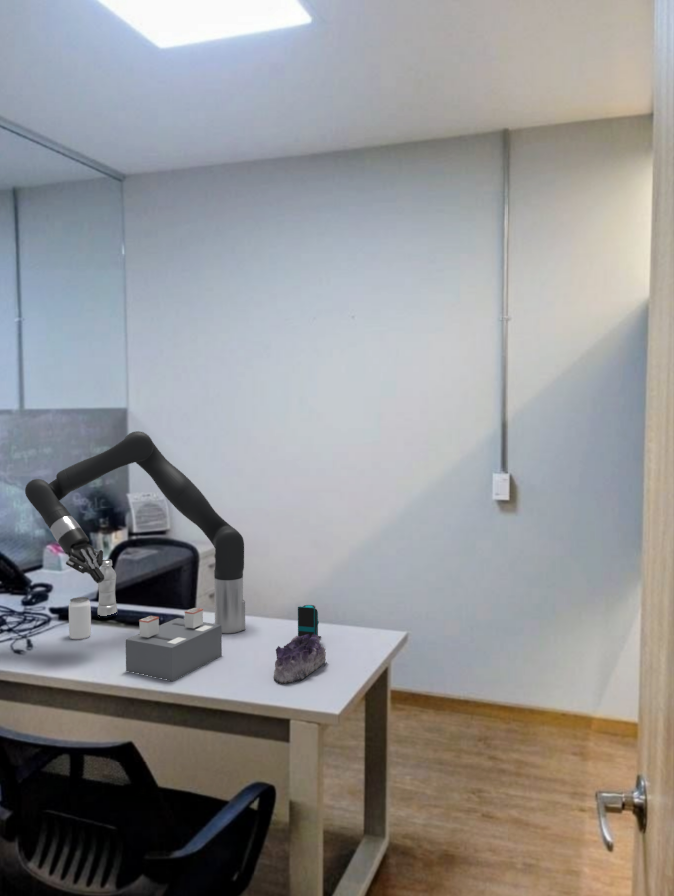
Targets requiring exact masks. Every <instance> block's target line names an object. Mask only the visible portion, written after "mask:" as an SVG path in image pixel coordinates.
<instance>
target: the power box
mask: <svg viewBox="0 0 674 896" xmlns="http://www.w3.org/2000/svg"><path fill="white" fill-rule="evenodd" d="M222 635H223V633H221V625H218V624H215V623H211V622H205V621H203V624H202V625H200V626H198V627H196V628H188V627H185V618H180V617H177V618H174V619H171V620H169V621H167V622H164V623H162V624H159V633H158V634H156V635H153V636H151V637H148V638H147V637H142V636H140V633H137V634H134V635H132V636H130V637H127V638H125V672H126V671H129V672H128V673H130V672H134V673H133V674H135V673H139V674H138V675H140V674H144V675H148V676H147V677H149V676H152V677H151V678H154V677H156V678H155V679H159V678H162V679H161V680H163V679H167V680H166V681H168V680H171V681H170V682H174V681H176V680H178V679H180V678H182V677H183V675H184V676H186V675H187V673H188V674H189V673H191V672H193V671H195V670H197V669H199V668H201V667H202V666H204V665H207V664H208V663H210V662H212V661H214V660H216V659H219V657H222V654H223V653H222V651H223V650H222V649H223V647H222V646H223V645H222V642H223V641H222V639H223V638H222ZM185 674H186V675H185ZM144 675H143V676H144ZM181 676H182V677H181ZM179 677H180V678H179ZM177 678H178V679H177ZM175 679H176V680H175ZM173 680H174V681H173Z"/></svg>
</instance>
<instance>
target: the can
mask: <svg viewBox="0 0 674 896" xmlns="http://www.w3.org/2000/svg"><path fill="white" fill-rule="evenodd" d="M69 601H70V602H69V604H68V633H69V634H68V636H69V639H71V640H76V641H77V640H86V639H87V638H88V639H89V638H90V637H91V636H92V635H91V634H92V612H91V610H92V609H91V602H90V598H89V597H86V596H78V597H73V598H71V599H70V600H69Z"/></svg>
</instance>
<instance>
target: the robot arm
mask: <svg viewBox="0 0 674 896" xmlns="http://www.w3.org/2000/svg"><path fill="white" fill-rule="evenodd" d="M135 463H136V464H137V465H138V466H139V467H140V468H142V469H143V470H144V472H146V473H147V474H148V476H149V477H150V478H151V479H152V481H153V482H154V483H155V485H156V486H157V488H158V489H159V490H160V492H161V493H162V495H163V496H164V497H165V498H166V499H167V500H168V501H169V503H170V504H171V505H172V506H173V507H174V508H175V509H176V510H178V511H179V513H180V514H182V515H183V516H184V517H185V518H187V519H188V520H189V522H192V523H193V524H194V525H196V526H197V527H198V528H199V529H200V530H201V531H202V533H204V535H205V536H206V537H207V538H208V540H209V541H210V543H211V544H212V545H213V546H212V547H214V552H215V555H214V557H215V559H214V560H215V561H214V562H215V563H214V565H215V567H214V571H213V577H214V578H213V580H214V584H213V585H214V624H218V625H221V633H222V634H235V633H239V632H241V631H245V630H246V601H245V600H244V570H245V540H244V537H243V536H242V534H241V533H240V532H239V531H238V530H237V529H236V528H235V527H233V526H231V524H229V523H228V522H227V521H226V520H224V519H223V518H222V517H221V516H220V515H219V514H218V513H217V512H216V510H215V509H214V507H212V505H211V503H210V502H209V501H208V499H207V497H206V496H205V495H204V494H203V493H202V491H201V490H200V489H199V488H198V487H197V486H196V485H195V484H194V483H193V482H192V481H191V479H189V478H188V477H187V476H186V474H184V473H183V471H180V469H178V468H177V467H176V466H175V465H173V464H172V463H171V462H170V461H169V460H167V458H166V457H165V456H164V454H163V453H162V452H161V451H160V450H159V449H158V447H157V446H156V444H155V443H154V441H153V440H152V438H151V437H150V435H148V434H147V433H146V432H144V431H139V430H138V431H136V430H135V431H132V432H130V433H128V434H127V435H126V436H125V437H124V439H123V440H121V441H120V442H118V443H117V444H115V445H114V446H112V447H111V448H109V449H106V450H105V451H102V452H100V453H99V454H96V455H93V456H91V457H89V458H86V459H83V460H80V461H79V462H77V463H74V464H73V465H70V466H68V467H66V468H64V469H62V470H60V471H59V472H57V474H56V476H55V477H56V478H55V479H54V480H52V481H50V482H47V481H46V480H44V479H40V478H35V479H32V480H30V481H28V483H26V485H25V489H24V493H25V497H26V499H27V500H28V501H29V502H30V504H31V505H32V506H33V508H34V509H35V510H36V511H37V513H38V514H39V515H40V516H41V518H42V520H43V521H44V523H45V524H46V526H47V527H48V529H49V530H50V532H51V534H52V536H53V538H54V539H55V540H56V542H57V543H58V546H60V548H61V550H62V551H63V552H64V554H65V555H67V556H68V559H67V561H66V562H65V565H67V566H68V567H70V568H72V569H73V570H76V572H79V573H81V574H85V573H86V574H88V575H90V577H91V578H92V579H93V581H94V582H95V583H96V584H98V583H100V582H102V581H103V580H104V575H103V573H102V572H101V571H100V569H101V565H102V564H103V560H104V551H103V550H102V549H99V550H97V549H95V548H94V547H93V546H92V545H90V540H89V537H88V535H86V533H85V531H84V530H83V529H82V527H81V526H80V524H79V523H78V521H77V520H76V519H75V518H74V517H73V515H71V513H70V512H69V510H68V509H67V507H66V506H65V505H64V504H63V503H62V502H61V500H62V499H64V498H65V497H66V496H68V495H69V494H70V493H71V492H73V491H76V490H77V489H79V488H81V487H84V486H85V485H88V484H90V483H91V482H93V481H95V480H97V479H99V478H100V477H102V476H104V475H106V474H108V473H111V472H112V471H114V470H117V469H120V468H122V467H125V466H127V465H131V464H135Z"/></svg>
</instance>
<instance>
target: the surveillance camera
mask: <svg viewBox="0 0 674 896" xmlns="http://www.w3.org/2000/svg"><path fill="white" fill-rule="evenodd" d="M307 634H309V635H310V638H311V636H312V635H313V634H315V635H318V636H319V638H320V639H321V638H322V635H321V636H320V635H319V611H318V609H317V608H316V605H313V604H306V605H302V606H300V605H299V606H298V607H297V636H304V635H307Z"/></svg>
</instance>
